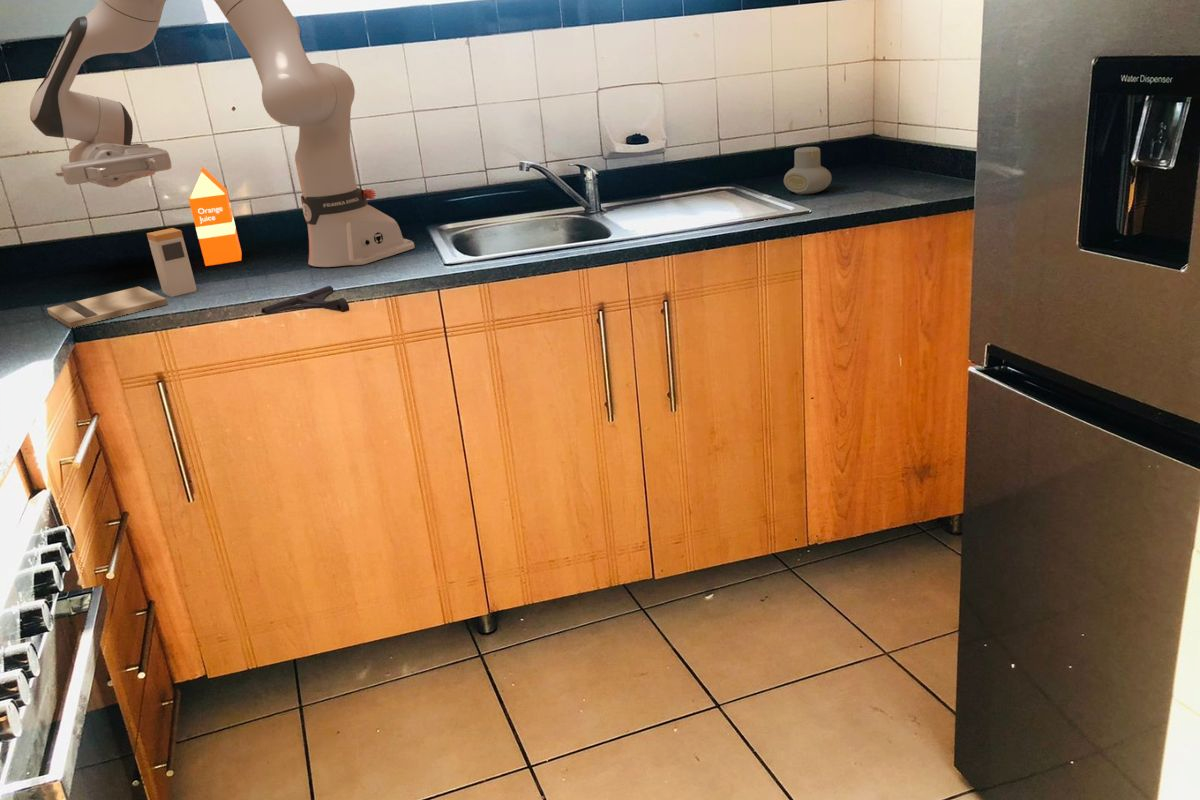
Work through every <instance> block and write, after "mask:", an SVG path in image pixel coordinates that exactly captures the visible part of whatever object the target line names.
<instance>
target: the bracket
mask: <svg viewBox="0 0 1200 800" xmlns="http://www.w3.org/2000/svg"><path fill="white" fill-rule="evenodd" d="M334 292H335V291H334V288H333V286H331V285H327V286H324V287H322V288H318V289H316V290H313V291H310V292H309V291H308V292H306V293H304V294H300V295H298V296H295V297H291V298H288V299H285V300H282V301H280V302H276V303H274V304H271V305H267V306H264V307H262V308H261V309H260V311H261V313H262V314H265V313H266V315H268V314H275V313H279V312H280V313H281V312H285V311H292V310H299V309H313V308H314V309H315V308H318V309H325V310H330V311H337V312H342V313H344V312H345V313H346V312H347V311H350V305H349V303H348V301H347V300H346V299H345V298H344V297H340V298H338V299H333V300H325V299H326V298H327V297H328V296H331V294H333V293H334Z"/></svg>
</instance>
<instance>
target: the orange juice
mask: <svg viewBox="0 0 1200 800" xmlns="http://www.w3.org/2000/svg"><path fill="white" fill-rule="evenodd" d="M191 192H192V193H190V196H189V198H188V202H189V206H190V210H191V214H192V218H193V222H194V226H195V231H196V236H197V239H198V243H199V246H200V250H201V254H202V257H203V260H204V261H203V263H204V265H205V267H207V266H209V267H210V266H215V265H223V264H228V263H234V262H239V261H240V262H241V261H242V256H243V255H242V248H241V244H240V241H239V237H238V236H239V235H238V231H237V228H236V227H237V226H236V223H235V218H234V215H233V210H232V205H231V202H230V198H229V193H228V189H227V188H226V187H225V186H224V185H223V184H222V183H221V182H220V181H219V180H218V179H217V178H216V177H215V176H213V174H211V173H210V172H209V171H208V169H206V168H205V167H204V166H202V167H201V170H200V174H199V176H198V180H196V183H195V185H194V187H193V190H192V191H191Z"/></svg>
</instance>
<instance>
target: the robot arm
mask: <svg viewBox="0 0 1200 800" xmlns="http://www.w3.org/2000/svg"><path fill="white" fill-rule="evenodd" d="M166 1H167V0H98V1H97V4H96V5H95V6H94V7H93V8H92V10H91V11H89V12H88V13H87V14H85V15H83V16H79V17H76V18H75V19H74V20H73V21H72V22H71V24H70V26H69V27H68V29H67V31H66V33H65V35H64V37H63V39H62V41H61V42H60V45H59V47H58V49H57V51H56V53H55V56H54V58H53V60H52V62H51V64H50V66H49V69H48V70H47V73H46V75H45V77H44V79H43V80H42V82H41V83H40V84H39V86H38V88H37V89H36V91H35V93H34V94H33V97H32V100H31V102H30V106H29V115H30V116H29V118H30V121H31V123H32V124H33V125H34V126H35V127H36V129H37V130H38V131H40V132H41V134H43V135H44V136H45V137H51V138H52V137H53V138H59V139H60V138H61V139H65V138H66V139H69V140H76V141H80V142H78V144H76V145H75V146H73V147H72V148H71V150H70V152H69V156H68V160H69V162H67V163H63V164H61V165H60V170H58V171H57V170H56V171H55V175H56V176H57V177H62V178H63V180H64V183H66V184H67V185H70V186H71V185H79V184H86V183H90V184H95V185H98V186H102V187H105V188H106V187H107V188H117V187H121V186H123V185H125V184H127V183H129V182H132V181H135V180H137V179H141V178H146V177H150V176H153V175H155V174H156V173H157V172H162V171H167V170H168V171H169V170H171V169H172V161H171V157H170V154H169V151H167V150H165V149H163V148H158V147H153V146H152V147H151V146H149V144H147V143H134V144H133V143H132V141H133V135H134V133H133V132H134V128H133V127H134V126H133V124H134V123H133V119H132V117H131V115H130V113H129V112H128V110H127V109H126V107H125V105H123V104H122V103H121V101H116V100H113V99H108V98H104V97H100V96H94V95H90V94H86V93H80V92H77V91H74V90H73V91H72V90H70V89H71V88H72V86H73V83H74V81H75V79H76V77H77V75H78V72H79V71H80V68H81V67H82V64H83V63H84V62H85V61H87V60H88V59H90V58H92V57H93V58H94V57H96V56H100V55H107V54H108V55H109V54H126V53H127V54H128V53H132V52H136V51H139V50H141V49H143V48H146V47H147V46H148V45H150V44H151V43H152V42H153V40H154V38H155V36H156V35H157V31H158V28H159V25H160V22H161V18H162V14H163V10H164V8H165V7H164V5H166ZM213 1H214V2H215V3H216V5H217V6H218V8H219V9H220V12H221V13H223V16H224V17H225V19H226V21H228V23H229V25H230V26H231V28H232V29H233V31H234V32H235V34H236V35H237V37H238V39H239V40H240V42H241V43H242V45H243V46H244V47H245V49H246V51H247V52H248V55H249V57H251V60H252V63H253V64H254V67H255V69H256V71H257V74H258V78H259V80H260V84H261V86H262V88H261V100H262V104H263V107H264V109H265V111H266V113H267V114H268V116H269V117H270V118H271V119H273V120H274V121H276V122H277V123H279V124H281V125H284V126H288V127H289V126H290V127H298V129H299V133H298V144H297V149H296V150H295V154H294V160H295V161H294V162H295V167H296V171H297V176H298V181H299V185H300V190H301V196H300V200H301V207H302V208H301V209H302V212H303V213H302V214H303V217H304V220H305V223H306V225H307V233H308V262H307V263H308V265H309V266H312V267H319V268H331V267H332V268H333V267H334V268H335V267H343V266H344V267H345V266H361V265H367V264H369V263H373V262H376V261H379V260H381V259H386V258H388V257H392V256H394V255H395V256H396V255H397V254H401V253H404V252H407V251H410V250H413V249H415V242H413V240H410V239H407V238H404V237H403V235H402V234H403V233H402V231H401V229H400V226H399V224H398V222H397V221H396V219H394V218H393V217H391V216H389V215H388V214H386V213H384V212H382V211H381V210H379V209H377V208H375V207H374V206H371V205H370V204H368V200H373V199H375V198H376V194H377V193H376V191H375V190H374V189H369V188H366V189H365V190H364V189H362V188H359V187H357V181H356V175H355V170H354V165H353V164H354V163H353V159H352V152H351V150H352V149H351V113H352V105H353V103H354V99H355V94H356V91H355V86H354V85H355V84H354V82H353V80H352V78H351V76H350V75H349V74H348V72H346V71H345V70H344V69H342V68H341V67H339V66H336V65H333V64H330V63H325V62H315V63H312V62H311V61H310V59H309V58H308V56H307V53H306V52H305V49H304V47H303V46H304V45H303V44H302V40H301V37H300V31H301V29H300V26H299V23H298V22H297V20H296V19H295V17H294V15H293V14H292V12H291V11H290V10H289V8H288V6H287V5H286V3H285V1H284V0H213Z"/></svg>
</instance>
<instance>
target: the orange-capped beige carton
mask: <svg viewBox="0 0 1200 800" xmlns="http://www.w3.org/2000/svg"><path fill="white" fill-rule="evenodd" d="M146 237H147V241H148V243H149V248H150V251H151V252H150V253H151V255H152V259H153V261H154V266H155V269H156V273H157V277H158V281H159V285H160V287H161V292H162V294H163V295H166V296H168V297H170V298H173V297H177V296H182V295H186V294H190V293H193V292H197V291H198V290H197V289H198V288H197V285H196V282H195V281H196V280H195V277H194V274H193V270H192V266H191V262H190V259H189V255H188V251H187V247H186V242H185V240H184V234H183V231H182V229H177V228H174V227H171V228H166V229H161V230H157V231H156V230H155V231H153V232H152V231H151V232H146Z"/></svg>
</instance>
